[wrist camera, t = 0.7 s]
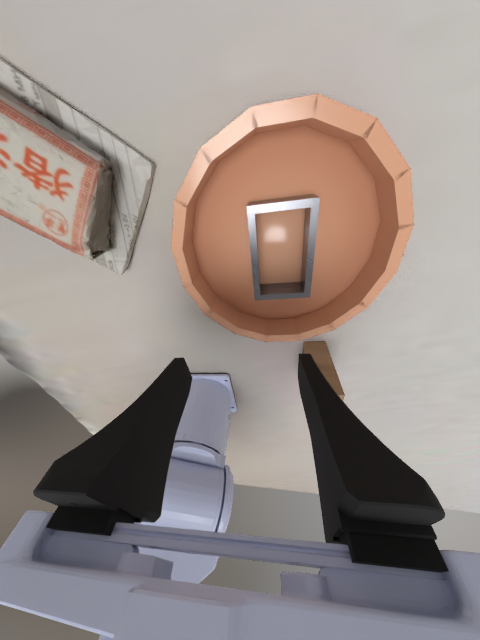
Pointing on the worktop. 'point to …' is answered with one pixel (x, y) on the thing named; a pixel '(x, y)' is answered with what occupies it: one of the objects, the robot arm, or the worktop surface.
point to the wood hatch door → (324, 364)
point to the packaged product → (68, 174)
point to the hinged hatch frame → (309, 241)
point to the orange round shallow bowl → (293, 216)
